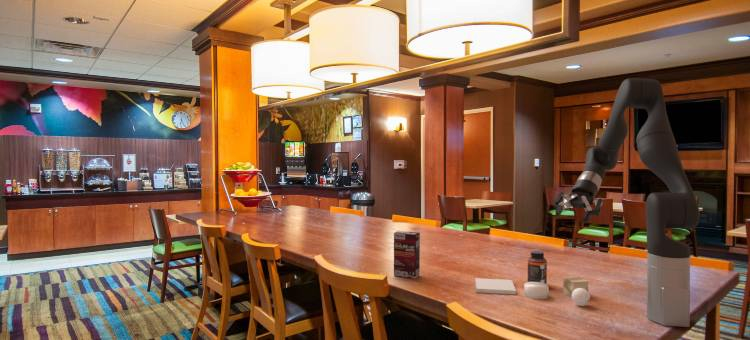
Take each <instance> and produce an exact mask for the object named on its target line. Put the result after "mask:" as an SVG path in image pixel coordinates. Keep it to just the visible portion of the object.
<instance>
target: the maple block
mask: <svg viewBox="0 0 750 340" xmlns="http://www.w3.org/2000/svg"><path fill="white" fill-rule="evenodd" d="M562 282H563V283H562V284H563V286H562V287H563V292H562V293H563V294H564V295H567V296H569V297H571V298H572V292H573V291H574V290H575V289H577V288H583V289H585V290H587V291H588V292H589V280H587V279H584V278H582V277H580V276H566V277H563V281H562Z"/></svg>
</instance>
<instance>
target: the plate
mask: <svg viewBox="0 0 750 340" xmlns="http://www.w3.org/2000/svg"><path fill="white" fill-rule="evenodd" d="M474 283H475V292H476V293H479V294H480V293H483V294H484V293H485V294H500V295H501V294H502V295H517V289H516V287H515V285H514V282H513V280H512V279H502V278H501V279H498V278H495V279H494V278H478V277H475V278H474Z"/></svg>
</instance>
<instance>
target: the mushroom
mask: <svg viewBox="0 0 750 340" xmlns="http://www.w3.org/2000/svg"><path fill="white" fill-rule="evenodd" d="M590 299H591V294H590V292H589V290H588V291H587V290H585V289H583V288H577V289H575V290H574V291H573V292H572V297H571V300H572V301H573V302H574V303H575V304H576V305H577V306H578V307H586V306H587V305H588V301H590Z"/></svg>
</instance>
